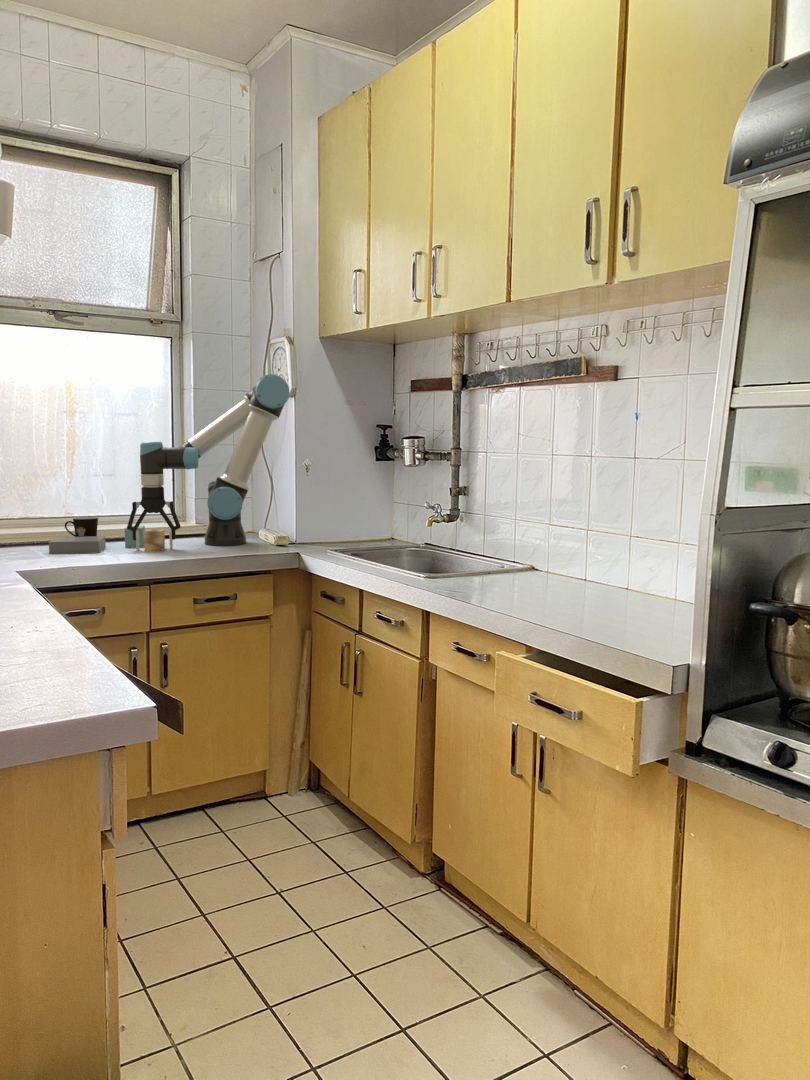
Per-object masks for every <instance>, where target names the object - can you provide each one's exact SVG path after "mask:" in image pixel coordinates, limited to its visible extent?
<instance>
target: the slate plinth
mask: <svg viewBox="0 0 810 1080" xmlns="http://www.w3.org/2000/svg"><path fill="white" fill-rule="evenodd" d="M106 546H107V545H106V536H104V535H102V536H101V535H100V536H99V535H97V536H87V537H75V536H56V537H55V538H54V539H52V540H50V541H48V554H49V555H51V554H52V555H58V554H98V553H101V552H102V551H103V550H104V549H106Z"/></svg>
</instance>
